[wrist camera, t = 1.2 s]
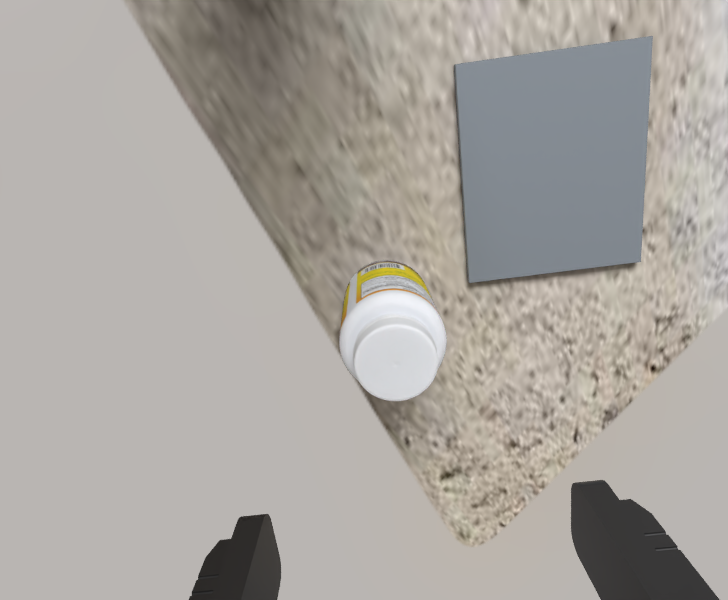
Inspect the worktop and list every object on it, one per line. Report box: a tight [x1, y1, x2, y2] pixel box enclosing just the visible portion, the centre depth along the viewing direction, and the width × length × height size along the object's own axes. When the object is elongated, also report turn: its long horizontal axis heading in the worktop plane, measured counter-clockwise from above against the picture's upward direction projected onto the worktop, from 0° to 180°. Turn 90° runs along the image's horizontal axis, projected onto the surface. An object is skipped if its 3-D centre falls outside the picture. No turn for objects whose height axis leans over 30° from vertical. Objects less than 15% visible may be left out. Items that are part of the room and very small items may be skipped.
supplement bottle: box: [339, 260, 447, 401], centre depth 26 cm, size 6×6×10 cm
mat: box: [454, 36, 653, 283], centre depth 28 cm, size 13×11×1 cm
